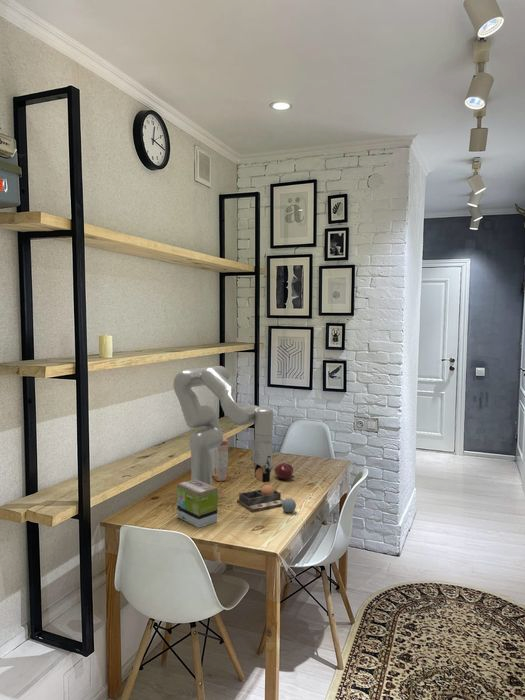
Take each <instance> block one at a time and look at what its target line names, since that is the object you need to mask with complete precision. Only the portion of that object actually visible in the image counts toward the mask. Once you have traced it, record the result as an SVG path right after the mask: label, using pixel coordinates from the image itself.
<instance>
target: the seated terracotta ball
mask: <svg viewBox="0 0 525 700" xmlns="http://www.w3.org/2000/svg"><path fill="white" fill-rule="evenodd" d="M260 490H261V494H263V495H264V496H266V495H271V494H274V490H275V489H274V487H273V486H271V485H269V484H266V485H264V486H262V488H261V489H260Z"/></svg>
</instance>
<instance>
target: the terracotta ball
mask: <svg viewBox="0 0 525 700" xmlns="http://www.w3.org/2000/svg"><path fill="white" fill-rule="evenodd" d="M267 468H268V467H266V469H267ZM263 473H264V470H263V467H262V466H261V467H260V468H258V469H257V470H256V473H255V472H254V477H255V476H256V478H255V479H256V480H257V481H259V482H262V483H264V482H263Z"/></svg>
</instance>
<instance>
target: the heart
mask: <svg viewBox="0 0 525 700" xmlns="http://www.w3.org/2000/svg"><path fill="white" fill-rule="evenodd" d="M273 470H274V473H275V475H276V477H277V478H279V479H280V480H283V481H286V480H290V479H292V476H293V473H294V468H293V466H292V465H291V464H290V463H286V462H282V463H279V464H278V465H276V466H275V468H274V469H273Z"/></svg>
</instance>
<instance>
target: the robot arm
mask: <svg viewBox="0 0 525 700" xmlns="http://www.w3.org/2000/svg"><path fill="white" fill-rule="evenodd" d="M229 378H230V373H229V370H228V369H227V368H226V367H225V366H222V365H217V366H216V365H215V366H214V365H213V366H209V367H196V368H187V369H183V370H181V371H179V372H177V374H176V375H175V377H174V379H173V383H172V384H173V390H174V393H175V395H176V397H177V400H178V402H179V405H180V407H181V412H182V413H183V416H184V421H185V423H186V425H187V427H188V428H189V429H193V430H194V429H198V428H202V429H200V430H197V431H194V432H193V433H192V434H191V435H190V437H189V440H188V442H189V443H188V444H189V449H190V457H191V458H190V460H191V461H190V462H191V463H190V466H191V469H190V470H191V471H190V472H191V475H190V480H193V479H197V480H200V481H202V482H205V483H207V484H210V485H212V486H213V477H212V457H211V454H210V449H212V448H215V447H218V446H220V445H221V444H222V442H223V437H224V433H223V430H222V427H221V424H220V421H219V418H218V416H217V413H216V411H215V409H214V408H213V407H211V406H210V405H208V404H207V405H205V404H204V405H201V404H200V400H199V398H198V396H197V393H195V392H194V390H193V389H192V388H196V387H204V386H205V387H207V388H208V389H209V391H211V393H213V394H214V395H215V397H217V398H218V399H219V401H220V406H221V408H222V410H223V413H224V414H225V416H227V418H229V420H230V421H232V423H234V424H236V425H238V426H246V425H249V424H254V439H253V444H252V451H251V452H252V454H251V461H252V462H253V464H254V466H253V467H254V474H255V473H256V470H257V469H258V468H260V467H263V470H264V473H263V482H262V483H269V482H270V480H271V472H272V470H273V468H274V464H273V462H274V461H273V454H274V453H273V430H274V429H273V428H274V427H273V426H274V411H273V409H271V408H268V407H261V406H258V405H255V404H251V405H249V404H248V405H246V406H240V405H239V403H237V402H236V401H235V400H234V398H233V395H234V393H235V392H236V391H235V389H236V388H235V386H234V385H233V383H231V382H230V381H229ZM266 468H267V469H266ZM254 478H255V479H257V478H256V476H255V475H254Z"/></svg>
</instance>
